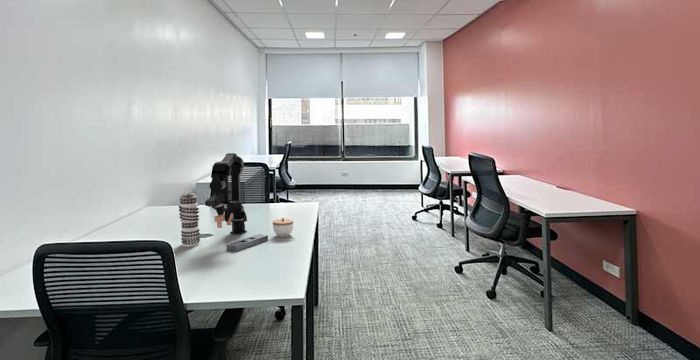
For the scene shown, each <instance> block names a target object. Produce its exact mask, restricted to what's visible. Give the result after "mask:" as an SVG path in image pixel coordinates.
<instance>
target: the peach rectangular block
mask: <svg viewBox="0 0 700 360" xmlns="http://www.w3.org/2000/svg"><path fill="white" fill-rule="evenodd" d="M231 219H233V213H231V215H230V217H229V220H228V222H226V221H225V213H224V214H222V215H218V214H217V215H215V216H214V220H213V221H214V222H215V223H216V226H217V228H219V229H222V228H223V225H222V224H223V222H224V221H225V222H226V226H232V222H231Z"/></svg>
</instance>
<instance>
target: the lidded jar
mask: <svg viewBox="0 0 700 360" xmlns="http://www.w3.org/2000/svg"><path fill="white" fill-rule="evenodd" d="M272 228H273V232H274V234H275V235H277V237H278V238H286V237H289V236H290V235H291V234H292V233H293V231H294V220H293V219H290V218H284V217H281V219H275V220H273V221H272Z"/></svg>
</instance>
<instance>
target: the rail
mask: <svg viewBox="0 0 700 360" xmlns="http://www.w3.org/2000/svg"><path fill="white" fill-rule="evenodd" d="M267 241H269V235H267V234H262V233H257V234H255V235H251V236H249V237H245V238H243V239H239V240H236V241H233V242H231V243H227V244H226V245H225V246H226V250H227V251H231V252H239V251H242V250H246V249H248V248H251V247H253V246H256V245H258V244H261V243H264V242H267Z"/></svg>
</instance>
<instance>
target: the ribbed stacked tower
mask: <svg viewBox="0 0 700 360" xmlns="http://www.w3.org/2000/svg"><path fill="white" fill-rule="evenodd" d="M197 197H198V196H197V195H196V194H195V193H193V192H185V193H182V194H181V195H180V197H179V205H178V211H179V219H180V223H181V231H180V233H181V234H180V236H181V239H180V240H181V243H182V244H181V246H182V247H188V248H189V247H195V246H199V245H200V244H201V236H200V227H199V221H200V218H199V217H200V215H198V214H199V213H200V211H199V210H200V208H199V207H198V206H199V203H198V198H197Z"/></svg>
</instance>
